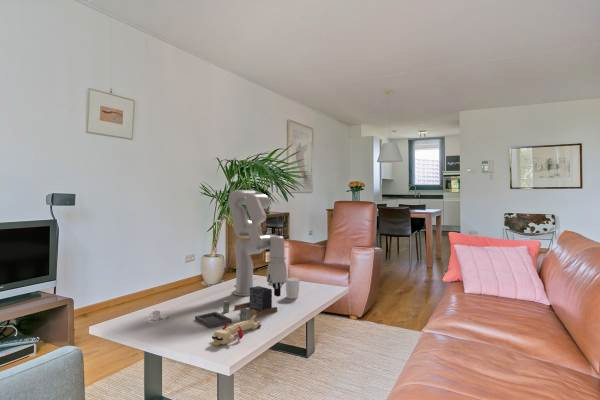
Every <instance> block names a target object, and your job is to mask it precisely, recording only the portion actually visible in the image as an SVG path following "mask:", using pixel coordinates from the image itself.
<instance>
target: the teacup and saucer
mask: <svg viewBox="0 0 600 400" xmlns="http://www.w3.org/2000/svg"><path fill="white" fill-rule="evenodd" d="M151 315H152V316H151ZM149 316H150V317H149V318H148V319H146V322H148V323H154V324H155V323H160V322H164V321H165V320H166V319H167V318H168V317H169V313H164V314H161V311H160V310H153V311H152V312H151V313H150V314H149ZM150 320H153V321H150Z"/></svg>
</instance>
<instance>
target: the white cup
mask: <svg viewBox="0 0 600 400" xmlns="http://www.w3.org/2000/svg"><path fill="white" fill-rule="evenodd" d="M300 280H301V279H300V278H297V277H287V279H286V283H285V294H286V298H287V299H291V300H292V299H293V300H294V299H298V298H299V292H300Z"/></svg>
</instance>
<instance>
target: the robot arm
mask: <svg viewBox="0 0 600 400" xmlns="http://www.w3.org/2000/svg"><path fill="white" fill-rule="evenodd" d="M227 200H228V201H227V202H228V207H229V210H230V213H231V216H232V222H233V223H232V224H233V229H234V234H235V235H236V237H239V238H240V239H237V240H236V242H235V243H234V252H235V263H236V265H235V266H236V271H235V272H236V273H235V274H236V278H235V283H236V284H234V288H235V289H234V290H233V295H234V296H239V297H248V296H249V297H250V288H251V287H254V283H253V282H254V263H253V262H254V261H253V259H252V258H251V256H252V255H258V254H261V253H263V251H264V250H269V263H268V264H267V268H266V283H267V282H268V286H271V287H272V288H273V294H274V295H273V296H275V297H281V293H282V292H281V291H282V290H281V289H282V287H283V285H284V284H286V279H287V278H288V277H287V275H288V274H287V273H288V272H287V271H288V270H287V266H286V265H287V264H286V261H285V260H286V256H285V237H284V236H281V235H276V234H263V232H262V231H263V230H262V227H261V224H262V223H264V222H265V221H266V220H267V214H266V211H265V209H268V208H269V207H270V204H271V203H270V202H271V201H270V198H269V196H268V195H266V193H265V194H264V193H263V192H261V191H258V190H251V189H250V190H249V189H235V190H233V191H231V192H230V193H229V195H228V199H227ZM242 205H245V207H246V209H247V211H246V209H245V208H244V207H243V206H242ZM247 212H248V213H247ZM248 215H249V217H250V219H249V218H248ZM241 237H246V238H241Z"/></svg>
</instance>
